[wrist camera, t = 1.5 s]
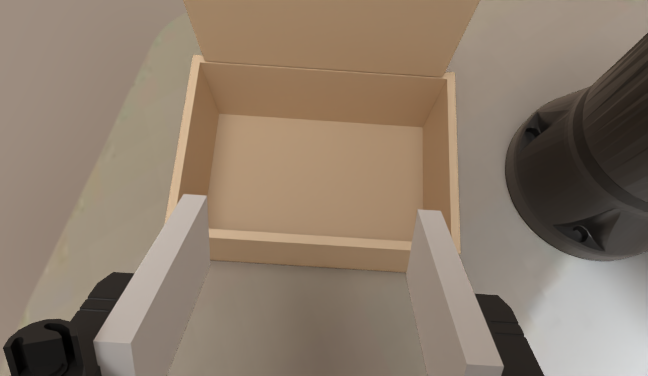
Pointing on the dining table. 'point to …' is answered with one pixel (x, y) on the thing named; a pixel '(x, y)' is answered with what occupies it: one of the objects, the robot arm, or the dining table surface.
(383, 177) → the light wood open box
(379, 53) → the light wood flat panel
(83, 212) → the dining table surface
